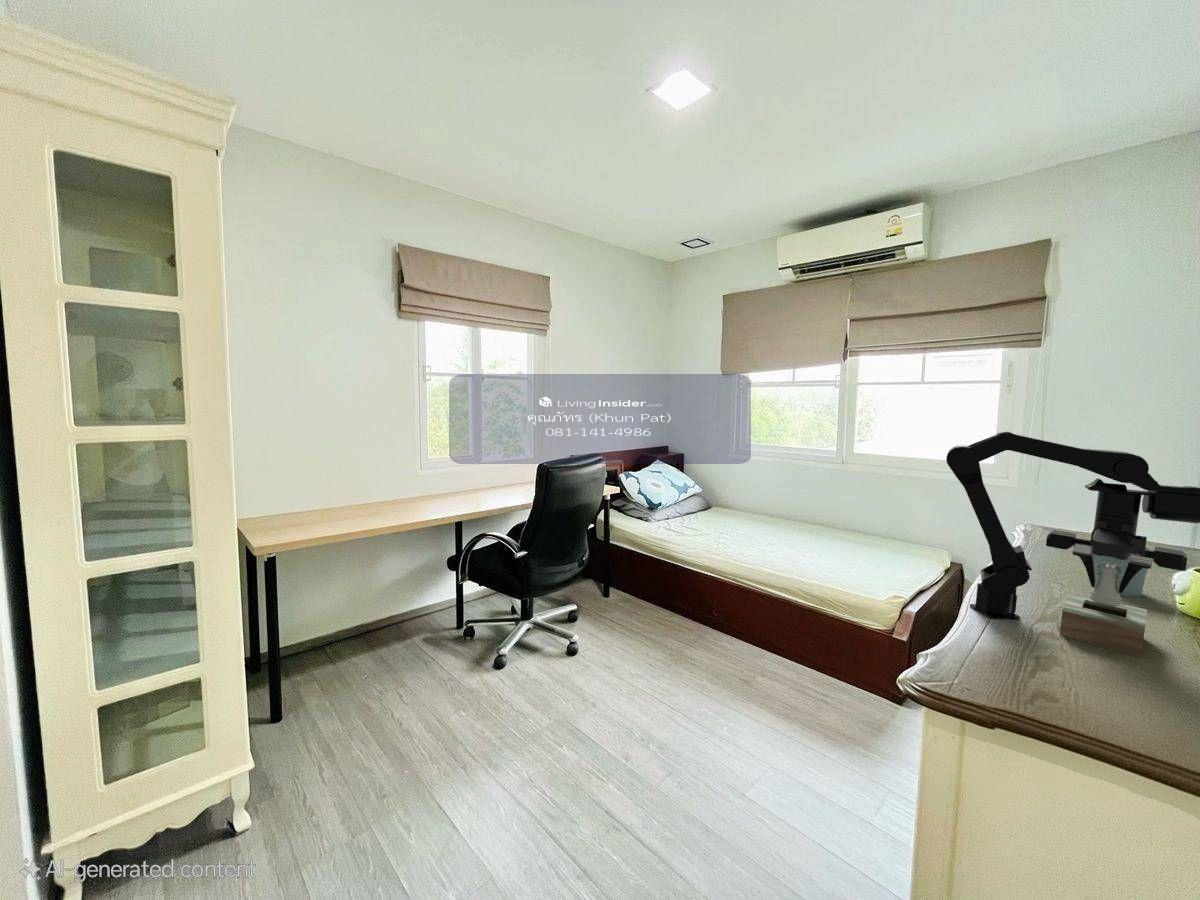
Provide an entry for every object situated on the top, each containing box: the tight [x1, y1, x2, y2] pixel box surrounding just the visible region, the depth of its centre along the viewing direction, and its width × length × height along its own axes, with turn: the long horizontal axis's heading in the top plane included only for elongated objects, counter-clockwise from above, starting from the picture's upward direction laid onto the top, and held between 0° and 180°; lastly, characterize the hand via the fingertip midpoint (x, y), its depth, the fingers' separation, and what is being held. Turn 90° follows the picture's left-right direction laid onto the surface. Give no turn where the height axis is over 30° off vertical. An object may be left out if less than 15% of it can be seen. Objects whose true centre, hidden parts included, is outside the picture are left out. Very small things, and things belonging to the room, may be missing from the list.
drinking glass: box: [1094, 546, 1153, 597], centre depth 120 cm, size 10×10×12 cm
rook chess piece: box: [1089, 562, 1122, 606], centre depth 94 cm, size 4×4×8 cm
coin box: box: [1059, 592, 1147, 658], centre depth 95 cm, size 12×11×6 cm
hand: (1106, 589), depth 95 cm, fingers closed on rook chess piece, 3 cm apart
